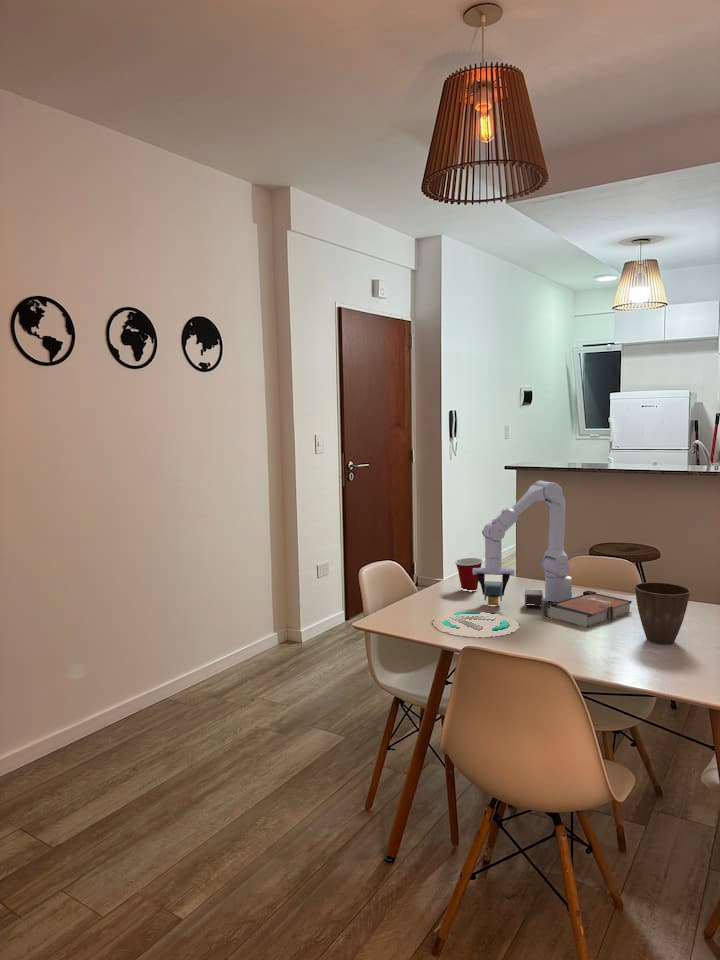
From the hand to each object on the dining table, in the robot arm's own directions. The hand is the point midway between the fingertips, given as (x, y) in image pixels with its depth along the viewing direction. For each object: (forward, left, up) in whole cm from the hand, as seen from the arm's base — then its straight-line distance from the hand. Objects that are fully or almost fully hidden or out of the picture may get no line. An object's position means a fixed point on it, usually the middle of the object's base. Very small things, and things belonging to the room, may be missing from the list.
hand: (493, 594), depth 242 cm
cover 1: (0, 0, -1) cm, 1 cm away
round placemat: (+5, +23, -5) cm, 24 cm away
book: (-32, +6, -5) cm, 33 cm away
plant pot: (-50, +30, -4) cm, 58 cm away
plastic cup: (+10, -20, -4) cm, 23 cm away
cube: (0, 0, -4) cm, 4 cm away
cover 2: (-14, 0, -4) cm, 14 cm away
